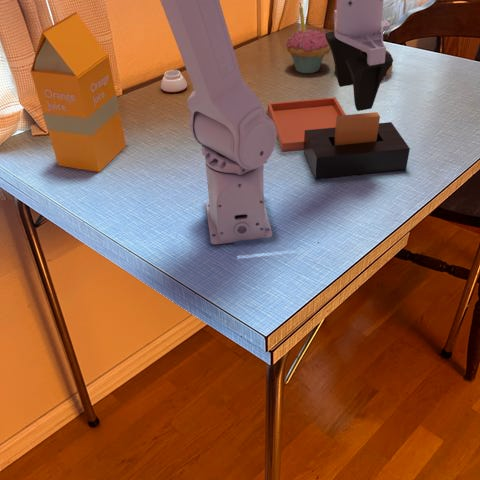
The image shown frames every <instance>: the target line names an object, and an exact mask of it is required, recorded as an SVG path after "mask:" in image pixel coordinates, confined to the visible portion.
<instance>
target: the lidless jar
mask: <svg viewBox="0 0 480 480" xmlns="http://www.w3.org/2000/svg"><path fill="white" fill-rule="evenodd" d="M187 87H188V83H187V81H186V78H185V77H184V76H183V74H182V73H181V71H180V70H177V69H171V70H170V69H169V70H167V71H165V72H164V75H163V76H162V79H161V83H160V89H161V90H162V91H163V92H166V93H178V92H182V91H184V90H185V89H186V88H187Z"/></svg>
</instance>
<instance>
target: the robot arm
mask: <svg viewBox="0 0 480 480" xmlns="http://www.w3.org/2000/svg"><path fill="white" fill-rule="evenodd" d="M159 1H160V4H161V6H162V9H163V11H164V15H165V17H166V19H167V22H168V25H169V28H170V30H171V33H172V36H173V38H174V40H175V43H176V46H177V48H178V51H179V54H180V56H181V60H182V62H183V64H184V67H185V70H186V72H187V74H188V75H187V76H188V77H189V80H190V83H191V85H192V88H193V91H192V92H191V94H190V95H189V97H188V98H187V99H186V105H187V107H188V110H189V115H190V119H189V120H190V122H189V123H190V125H189V128H190V133H191V136H192V138H193V139H194V141H195V142H196V143H197V144H199V145H200V146H201V152H202V156H203V157H204V160H205V172H206V183H207V193H208V194H207V195H208V201H207V202H206V203H205V210H206V216H207V224H208V231H209V239H210V244H212V245H224V244H234V243H235V242H240V241H248V240H250V241H251V240H257V239H266V238H267V239H269V238H272V237H273V231H272V227H271V223H270V219H269V216H268V212H267V209H266V205H265V194H264V193H265V189H264V186H265V185H264V183H265V182H264V181H265V180H264V165H265V164H267V163H268V160H269V159H270V157H271V155H272V154H273V152H274V150H275V147H276V142H277V140H278V138H277V131H276V126H275V124H274V122H273V121H272V120H271V119H270V116H269V115H267V113H266V112H265V109H264V105H263V102H262V101H261V100H260V98H259V97H258V96H257V95H256V94H255V92H254V91H253V90H252V89H251V88H250V87H249V86H248V84H247V83H246V82H245V81H244V79H243V76H242V73H241V69H240V66H239V63H238V60H237V56H236V52H235V49H234V45H233V42H232V39H231V36H230V35H231V34H230V32H229V28H228V26H227V22H226V18H225V15H224V11H223V8H222V4H221V2H220V0H159ZM383 9H384V0H336V9H334V10H333V11H334V12H333V26H334V28H333V31H328V32H326V33H324V34H325V37H326V40H327V42H328V44H329V46H330V51H331V55H332V58H333V62H334V69H335V74H336V80H337V84H338V86H339V88H343V87H347V86H348V87H349V86H352V88H353V102H354V106H355V109H356V111H357V112H360V111H361V112H362V111H366V110H371V109H372V108H373V107H374V103H375V101H376V97H377V94H378V91H379V89H380V87H381V84H382V81H383V79H384V78H385V77H384V76H385V74H386V72H387V71H388V70H389V68H390V67H391V66H393V62H394V57H393V56H392V55H391V56H392V57H391V56H390V55H389V54H386V50H387V47H386V45H385V44H384V32H387V31H389V30H390V29H391V23H390V22H389V21H387V19H383V11H384V10H383ZM361 50H362V51H363V52H361ZM360 52H361V56H360ZM383 77H384V78H383Z"/></svg>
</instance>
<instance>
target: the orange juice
mask: <svg viewBox="0 0 480 480" xmlns="http://www.w3.org/2000/svg"><path fill="white" fill-rule="evenodd" d="M111 67H112V66H111V63H110V57H109V53H107V51H106V50H105V49H104V47H103V46H102V45H101V43H100V42H99V41H98V39H97V38H96V36H95V35H94V34H93V33H92V31H91V30H90V28H89V27H88V26H87V25H86V23H85V22H84V20H83V19H82V18H81V16H80V15H79V14H78V11H74V12H73V13H72V14H70V15H68V16H66V17H64V18H63V19H61V20H59V21H57V22H56V23H54V24H52V25H51V26H49V27H46V28H45V29H43V30H41V34H40V38H39V41H38V45H37V47H36V52H35V55H34V58H33V61H32V65H31V69H30V73H31V79H32V82H33V84H34V88H35V91H36V95H37V98H38V101H39V105H40V108H41V112H42V116H43V120H44V123H45V126H46V130H47V132H48V136H49V139H50V142H51V145H52V148H53V152H54V155H55V159H56V162H57V165H58V166H59V167H66V168H71V169H77V170H84V171H91V172H96V173H97V172H98V173H101V171H103V170H104V169H105V167H107V165H108V164H110V162H112V161H113V159H115V158H116V157H117V156H118V155H119V154H120V153H121V152H122V151H123V150H124V149H125V148H126V147H127V143H126V137H125V134H124V128H123V122H122V118H121V114H120V106H119V101H118V96H117V95H118V94H117V92H116V88H115V83H114V78H113V71H112V68H111Z"/></svg>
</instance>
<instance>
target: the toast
mask: <svg viewBox="0 0 480 480" xmlns="http://www.w3.org/2000/svg"><path fill="white" fill-rule="evenodd" d="M380 121H381V115H380V114H379V112H377V111H374V112H363V113H354V114H353V113H352V114H345V115H341V116H336V127H335V140H334V146H336V145H346V144H356V143H367V142H377V134H378V127H379V123H380Z"/></svg>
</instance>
